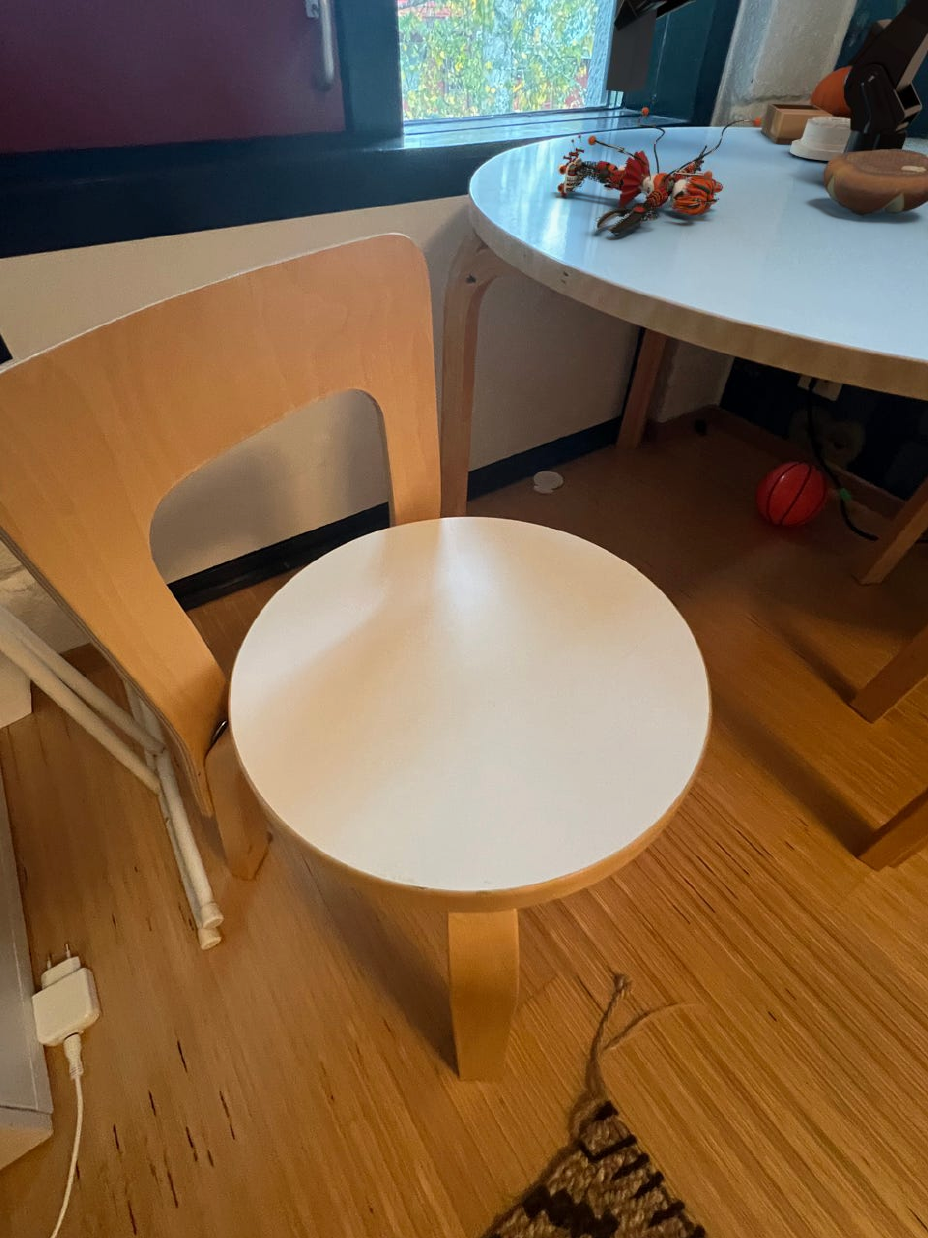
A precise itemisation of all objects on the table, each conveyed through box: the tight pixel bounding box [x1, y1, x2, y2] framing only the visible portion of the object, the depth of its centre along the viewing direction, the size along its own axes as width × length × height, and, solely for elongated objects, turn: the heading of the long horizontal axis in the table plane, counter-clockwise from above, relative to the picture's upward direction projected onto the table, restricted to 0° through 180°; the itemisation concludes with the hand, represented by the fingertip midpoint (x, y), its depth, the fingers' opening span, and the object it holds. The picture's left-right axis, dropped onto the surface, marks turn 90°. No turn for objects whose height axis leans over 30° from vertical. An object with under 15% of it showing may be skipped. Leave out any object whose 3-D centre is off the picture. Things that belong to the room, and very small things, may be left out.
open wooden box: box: [760, 102, 833, 145], centre depth 109 cm, size 11×7×4 cm
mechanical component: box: [789, 117, 851, 162], centre depth 98 cm, size 10×4×10 cm
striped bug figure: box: [556, 106, 762, 237], centre depth 74 cm, size 25×9×20 cm
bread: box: [822, 148, 928, 216], centre depth 76 cm, size 11×11×5 cm
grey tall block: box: [605, 0, 658, 93], centre depth 91 cm, size 4×5×13 cm
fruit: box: [809, 65, 853, 119], centre depth 118 cm, size 9×9×8 cm
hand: (625, 26), depth 92 cm, fingers closed on grey tall block, 5 cm apart
